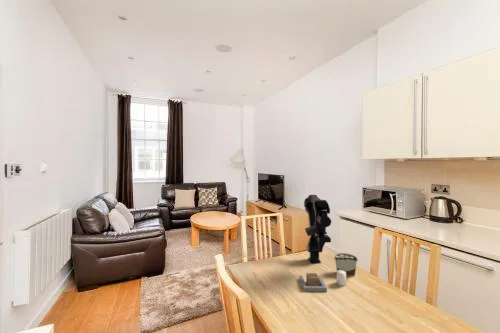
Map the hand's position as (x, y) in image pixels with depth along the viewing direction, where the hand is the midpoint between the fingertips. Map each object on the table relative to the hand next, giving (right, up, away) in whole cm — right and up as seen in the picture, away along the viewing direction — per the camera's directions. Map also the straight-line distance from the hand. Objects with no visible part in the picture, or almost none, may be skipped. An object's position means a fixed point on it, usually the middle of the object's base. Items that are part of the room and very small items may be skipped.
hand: (320, 249), depth 129 cm
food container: (+13, -13, -1) cm, 18 cm away
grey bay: (-9, -13, -14) cm, 20 cm away
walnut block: (-9, -13, -14) cm, 21 cm away
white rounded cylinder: (+7, -13, -13) cm, 19 cm away
